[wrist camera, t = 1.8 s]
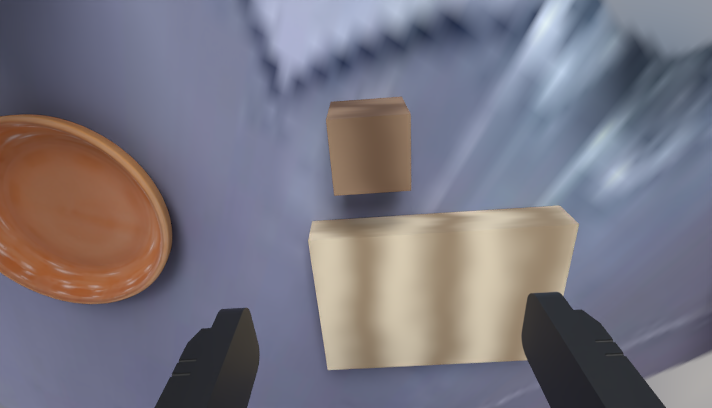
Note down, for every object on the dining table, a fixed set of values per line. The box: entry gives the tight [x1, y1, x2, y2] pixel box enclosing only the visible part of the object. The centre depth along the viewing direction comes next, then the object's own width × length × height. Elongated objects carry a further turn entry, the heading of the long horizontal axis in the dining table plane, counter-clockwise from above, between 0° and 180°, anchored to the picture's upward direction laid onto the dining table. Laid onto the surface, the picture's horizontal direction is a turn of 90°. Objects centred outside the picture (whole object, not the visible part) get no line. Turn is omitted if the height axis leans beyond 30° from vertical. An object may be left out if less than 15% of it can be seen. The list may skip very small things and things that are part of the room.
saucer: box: [0, 114, 172, 304], centre depth 30 cm, size 16×16×3 cm
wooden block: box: [308, 206, 579, 370], centre depth 33 cm, size 20×14×3 cm
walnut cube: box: [326, 97, 411, 196], centre depth 26 cm, size 5×5×5 cm
